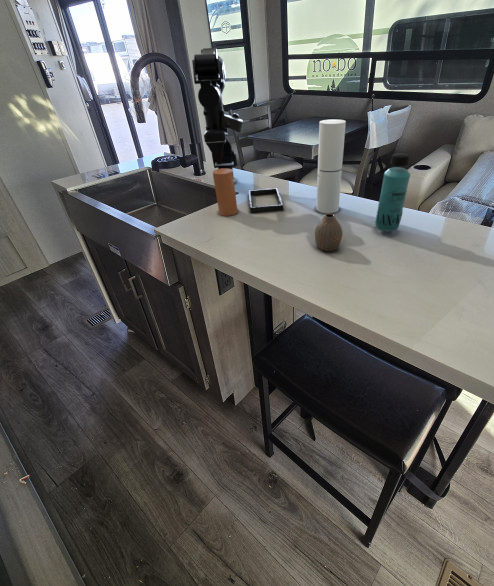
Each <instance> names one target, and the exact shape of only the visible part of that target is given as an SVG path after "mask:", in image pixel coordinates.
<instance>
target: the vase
mask: <svg viewBox="0 0 494 586" xmlns="http://www.w3.org/2000/svg"><path fill="white" fill-rule="evenodd" d="M342 240H343V228H342V225H341V224H340V222H339V221H338V220H337V218H336V215H335V214H334V213H324V215H323V218H322V219H321V220H320V221H319V222H318V223H317V225H316V227H315V230H314V241H315V244H316V246H317V247H318V248H319V249H320V250H321V251H324V252H332V251H335V250H336V249H338V248H339V246H340V245H341V243H342Z"/></svg>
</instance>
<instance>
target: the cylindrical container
mask: <svg viewBox="0 0 494 586" xmlns="http://www.w3.org/2000/svg"><path fill="white" fill-rule="evenodd" d="M345 136H346V120H344V119H334V118H333V119H332V118H331V119H323V120H319V126H318V153H317V154H318V155H317V178H316V179H317V181H316V204H315V205H316V211H317V212H319V213H322V214H334V213H337V212H338V211H339V210H340V196H341V185H342V184H341V183H342V174H343V161H344V160H343V159H344V150H345V148H344V147H345Z"/></svg>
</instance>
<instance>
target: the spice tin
mask: <svg viewBox="0 0 494 586" xmlns="http://www.w3.org/2000/svg"><path fill="white" fill-rule="evenodd" d="M233 175H234V169H233V170H232V169H229V168H222V169H218V168H216V169H214V170H213V171H212V178H213V184H214V189H215V196H216V201H217V209H218V213H219V215H220V216H223V217H229V216H234V215H236V214H238V211H239V209H238V204H237V196H236V195H237V194H236V186H235V183H234V178H235V177H234V178H233Z"/></svg>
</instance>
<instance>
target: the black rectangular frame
mask: <svg viewBox="0 0 494 586" xmlns="http://www.w3.org/2000/svg"><path fill="white" fill-rule="evenodd" d="M247 192H248V199H249V200H248V201H249V209H250V214H256V213H257V214H258V213H268V212H281V211H284V204H283V200H282V197H281V194H280V192H279V188H276V187H275V188H263V189H251V190H250V189H249V190H248V191H247ZM265 195H266V196H267V195H276V197H277V200H278V201H277V202H278V204H273V205H259V206H253V205H252V203H253V202H252V196H254V197H255V196H265Z"/></svg>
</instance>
